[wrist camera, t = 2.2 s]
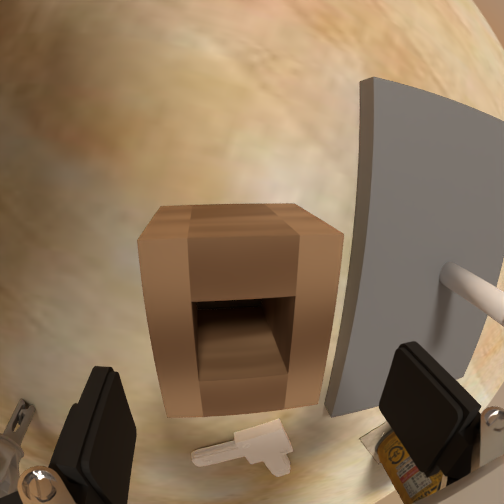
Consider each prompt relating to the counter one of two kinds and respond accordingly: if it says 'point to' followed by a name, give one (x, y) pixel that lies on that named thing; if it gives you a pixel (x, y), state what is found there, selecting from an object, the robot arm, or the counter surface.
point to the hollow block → (243, 318)
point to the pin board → (419, 238)
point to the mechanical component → (13, 448)
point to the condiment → (400, 465)
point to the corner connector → (252, 448)
